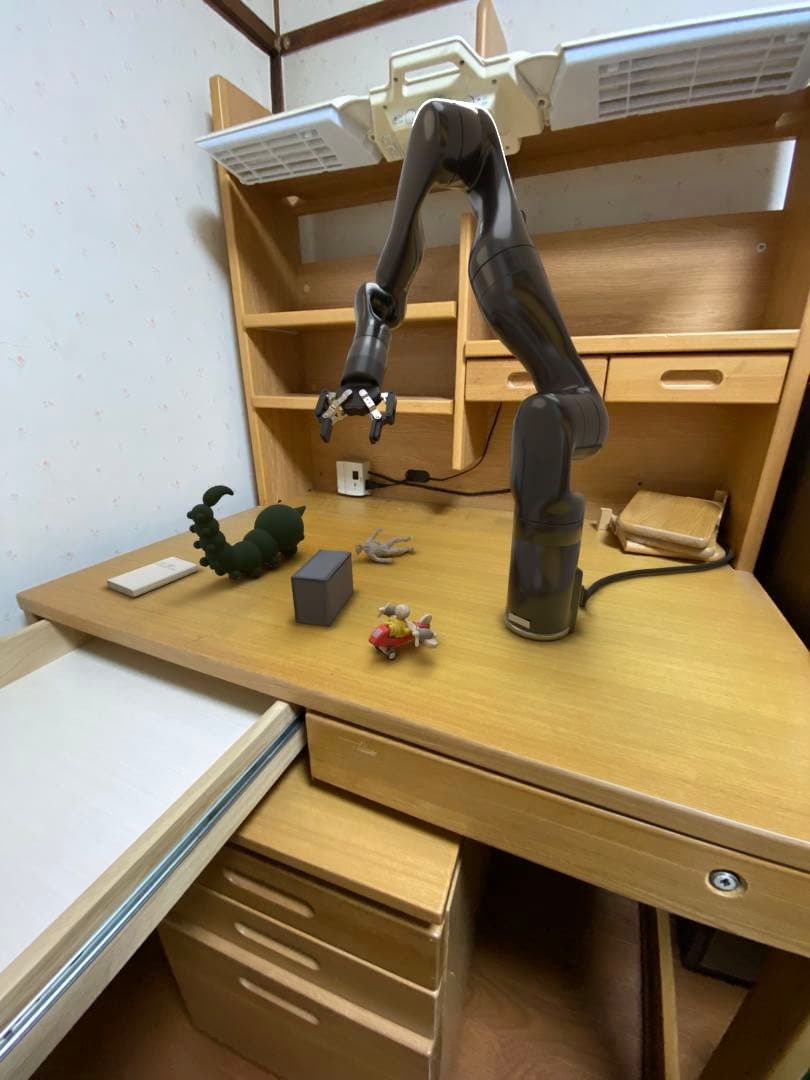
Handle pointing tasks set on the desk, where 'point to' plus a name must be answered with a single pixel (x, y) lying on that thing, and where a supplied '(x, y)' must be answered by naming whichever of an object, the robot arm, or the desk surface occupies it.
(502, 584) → the desk surface
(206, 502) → the toy figurine
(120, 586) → the hard drive
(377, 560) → the soldier figure
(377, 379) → the robot arm
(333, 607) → the dark grey rectangular box
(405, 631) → the toy airplane
